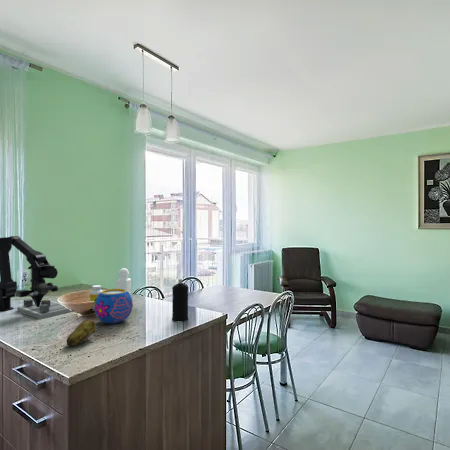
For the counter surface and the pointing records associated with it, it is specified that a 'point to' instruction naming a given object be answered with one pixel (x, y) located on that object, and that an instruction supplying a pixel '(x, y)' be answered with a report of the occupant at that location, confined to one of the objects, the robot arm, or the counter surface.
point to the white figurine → (124, 280)
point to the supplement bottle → (95, 292)
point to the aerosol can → (180, 301)
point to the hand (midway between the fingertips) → (37, 306)
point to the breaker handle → (45, 302)
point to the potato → (81, 332)
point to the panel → (44, 315)
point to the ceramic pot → (113, 305)
